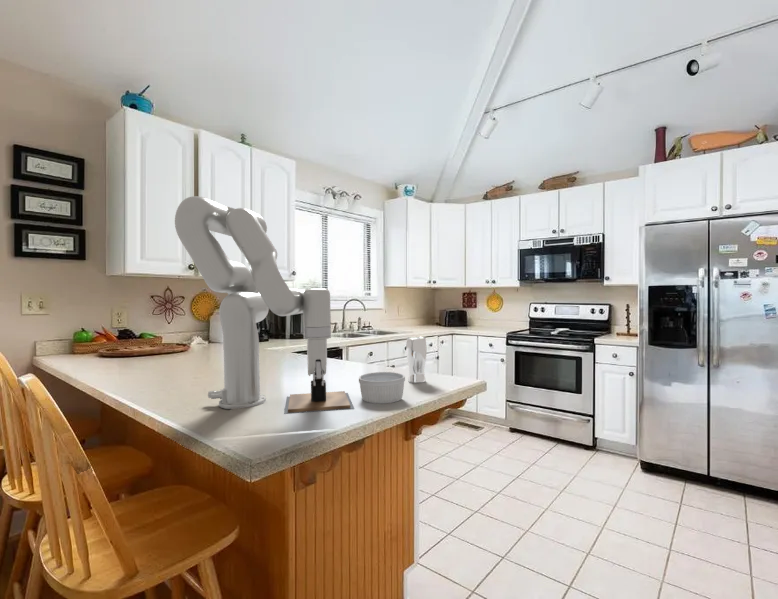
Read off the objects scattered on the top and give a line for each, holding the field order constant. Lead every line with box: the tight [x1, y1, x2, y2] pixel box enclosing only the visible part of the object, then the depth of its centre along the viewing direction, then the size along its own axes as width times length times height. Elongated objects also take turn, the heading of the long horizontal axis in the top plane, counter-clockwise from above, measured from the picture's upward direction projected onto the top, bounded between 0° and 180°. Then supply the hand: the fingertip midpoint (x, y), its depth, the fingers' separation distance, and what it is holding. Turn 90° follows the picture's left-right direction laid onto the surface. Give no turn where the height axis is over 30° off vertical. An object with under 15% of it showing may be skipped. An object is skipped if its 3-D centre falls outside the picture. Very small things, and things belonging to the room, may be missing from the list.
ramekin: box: [358, 371, 406, 404], centre depth 121 cm, size 13×13×7 cm
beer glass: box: [405, 336, 428, 384], centre depth 144 cm, size 7×7×15 cm
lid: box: [288, 379, 350, 413], centre depth 117 cm, size 16×16×6 cm
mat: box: [283, 392, 355, 415], centre depth 117 cm, size 18×18×1 cm
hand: (318, 397), depth 117 cm, fingers closed on lid, 4 cm apart
